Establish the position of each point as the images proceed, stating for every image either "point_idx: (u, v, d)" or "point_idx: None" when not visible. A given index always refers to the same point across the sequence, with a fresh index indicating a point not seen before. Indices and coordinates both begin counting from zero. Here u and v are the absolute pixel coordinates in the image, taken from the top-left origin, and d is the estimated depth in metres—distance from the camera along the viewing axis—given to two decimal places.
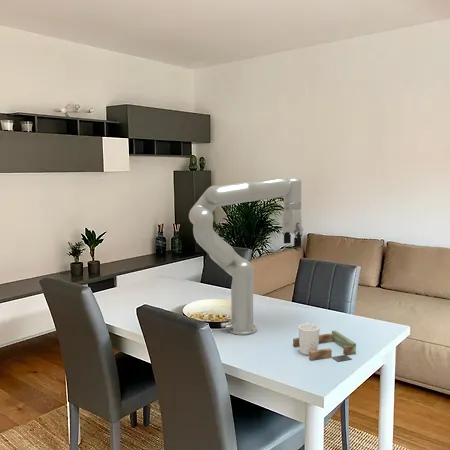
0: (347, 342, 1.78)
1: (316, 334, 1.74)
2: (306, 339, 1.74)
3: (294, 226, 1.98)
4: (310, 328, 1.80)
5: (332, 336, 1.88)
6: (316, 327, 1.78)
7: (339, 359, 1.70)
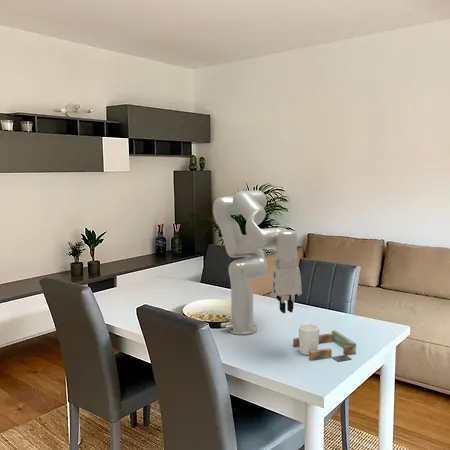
0: (347, 342, 1.78)
1: (316, 334, 1.74)
2: (306, 339, 1.74)
3: None
4: (310, 328, 1.80)
5: (332, 336, 1.88)
6: (316, 327, 1.78)
7: (339, 359, 1.70)
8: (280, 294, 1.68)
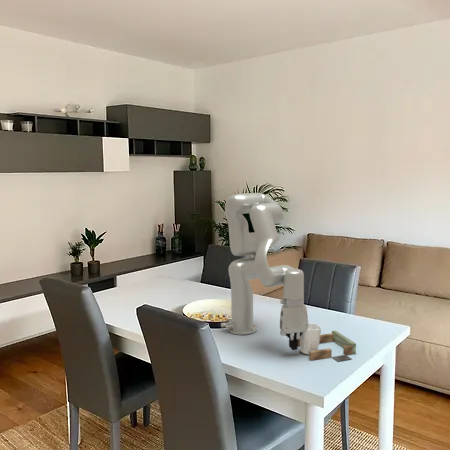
0: (347, 342, 1.78)
1: (317, 334, 1.74)
2: (307, 338, 1.74)
3: None
4: (311, 328, 1.80)
5: (332, 336, 1.88)
6: (318, 327, 1.79)
7: (339, 359, 1.70)
8: (287, 332, 1.71)
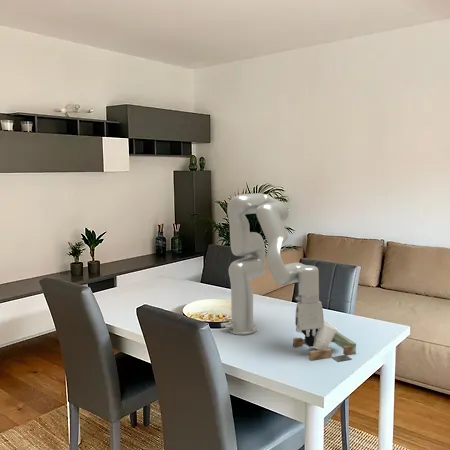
0: (347, 342, 1.78)
1: (333, 333, 1.75)
2: (322, 333, 1.75)
3: None
4: None
5: None
6: (333, 328, 1.80)
7: (339, 359, 1.70)
8: (303, 329, 1.72)
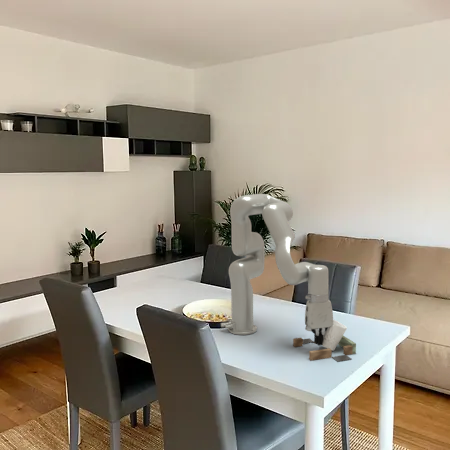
0: (347, 342, 1.78)
1: (342, 332, 1.76)
2: (331, 332, 1.76)
3: None
4: None
5: None
6: (343, 327, 1.81)
7: (339, 359, 1.70)
8: (313, 328, 1.73)
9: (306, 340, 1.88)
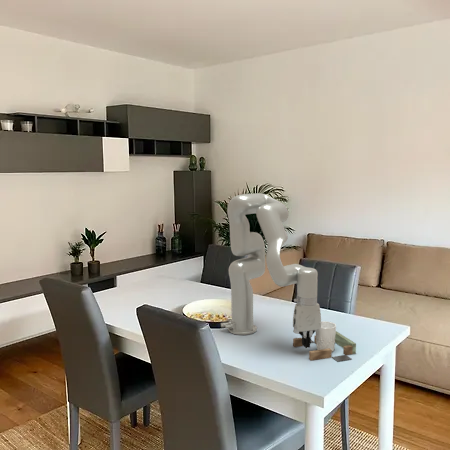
0: (347, 342, 1.78)
1: (333, 332, 1.76)
2: (322, 336, 1.76)
3: None
4: (327, 326, 1.82)
5: None
6: (333, 325, 1.81)
7: (339, 359, 1.70)
8: (301, 330, 1.73)
9: None
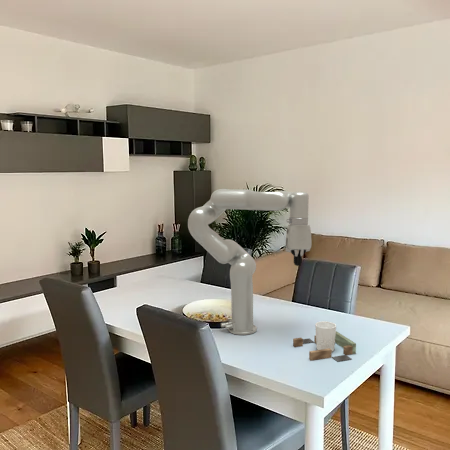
0: (347, 342, 1.78)
1: (333, 332, 1.76)
2: (322, 336, 1.76)
3: None
4: (327, 326, 1.82)
5: None
6: (333, 325, 1.81)
7: (339, 359, 1.70)
8: (292, 248, 1.89)
9: (306, 340, 1.88)
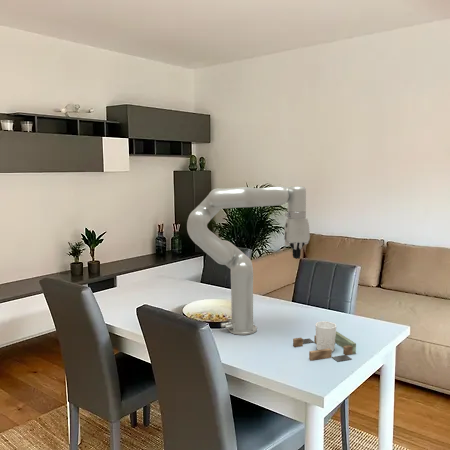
0: (347, 342, 1.78)
1: (333, 332, 1.76)
2: (322, 336, 1.76)
3: None
4: (327, 326, 1.82)
5: None
6: (333, 325, 1.81)
7: (339, 359, 1.70)
8: (291, 241, 1.93)
9: (306, 340, 1.88)
